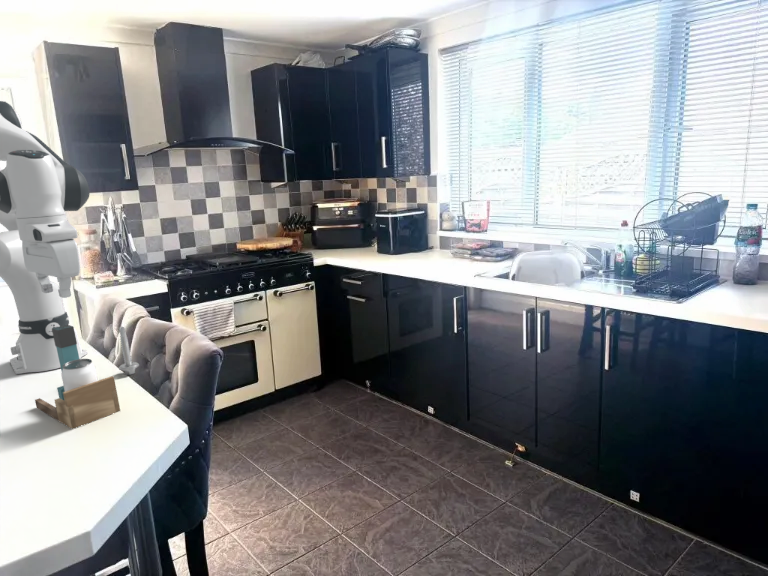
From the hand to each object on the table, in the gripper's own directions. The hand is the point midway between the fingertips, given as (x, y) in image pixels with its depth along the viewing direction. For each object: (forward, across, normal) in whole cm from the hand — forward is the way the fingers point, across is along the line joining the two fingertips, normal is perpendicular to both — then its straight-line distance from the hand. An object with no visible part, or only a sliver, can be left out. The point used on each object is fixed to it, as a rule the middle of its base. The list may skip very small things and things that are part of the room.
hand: (56, 294), depth 115 cm
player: (+27, 0, 0) cm, 27 cm away
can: (+27, +4, 0) cm, 27 cm away
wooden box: (+27, -1, 0) cm, 27 cm away
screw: (+27, -13, +18) cm, 35 cm away
